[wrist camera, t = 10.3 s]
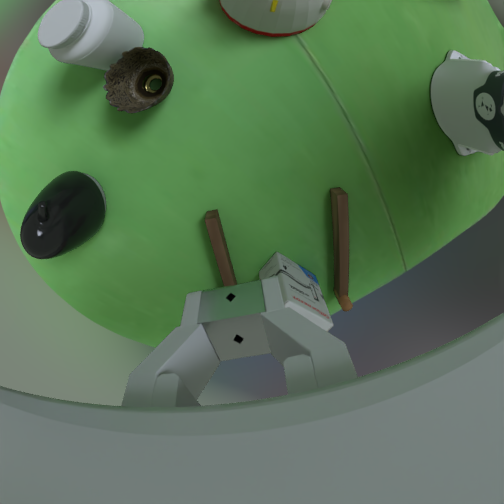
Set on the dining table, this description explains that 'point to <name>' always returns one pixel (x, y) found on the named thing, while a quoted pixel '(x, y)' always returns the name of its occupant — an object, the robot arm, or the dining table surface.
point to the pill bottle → (89, 33)
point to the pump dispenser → (63, 215)
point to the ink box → (298, 289)
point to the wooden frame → (339, 241)
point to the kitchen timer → (275, 15)
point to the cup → (138, 80)
